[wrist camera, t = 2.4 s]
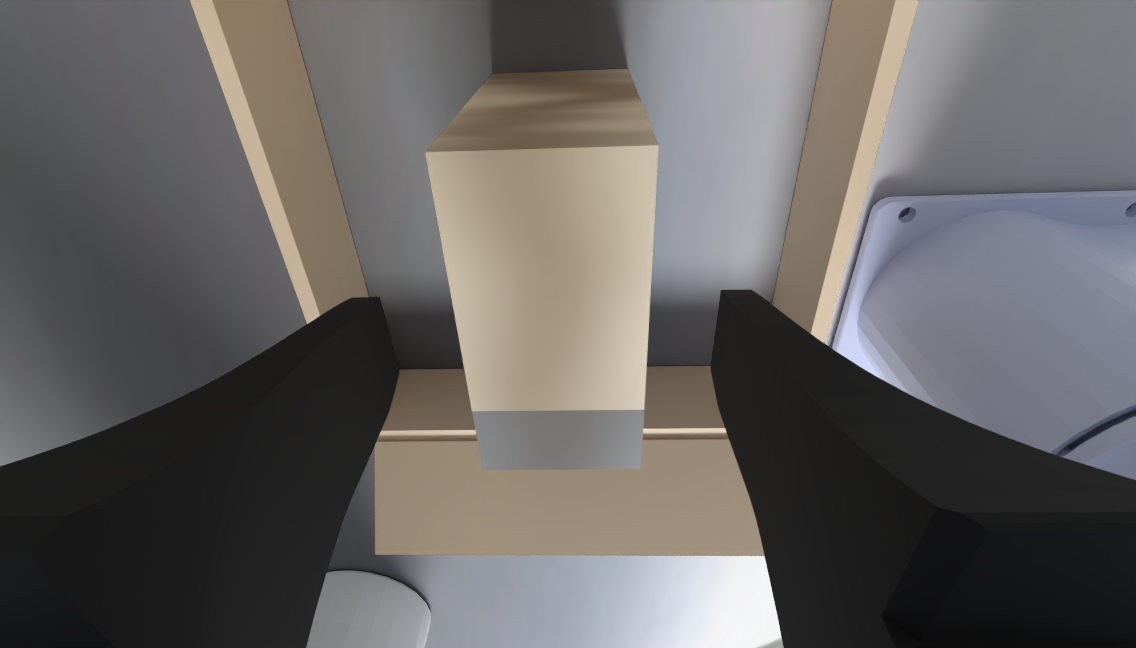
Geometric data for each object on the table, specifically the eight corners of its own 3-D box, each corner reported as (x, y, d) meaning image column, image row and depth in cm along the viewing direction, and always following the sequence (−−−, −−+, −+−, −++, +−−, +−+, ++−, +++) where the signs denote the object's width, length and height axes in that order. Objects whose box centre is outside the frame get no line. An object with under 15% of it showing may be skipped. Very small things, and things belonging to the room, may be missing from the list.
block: (627, 68, 16) (658, 145, 9) (622, 303, 20) (641, 468, 14) (492, 73, 16) (425, 152, 9) (515, 304, 20) (482, 470, 14)
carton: (913, -288, 12) (1151, -472, 7) (757, 435, 24) (802, 559, 19) (197, -244, 12) (-60, -380, 8) (397, 437, 25) (349, 558, 20)
